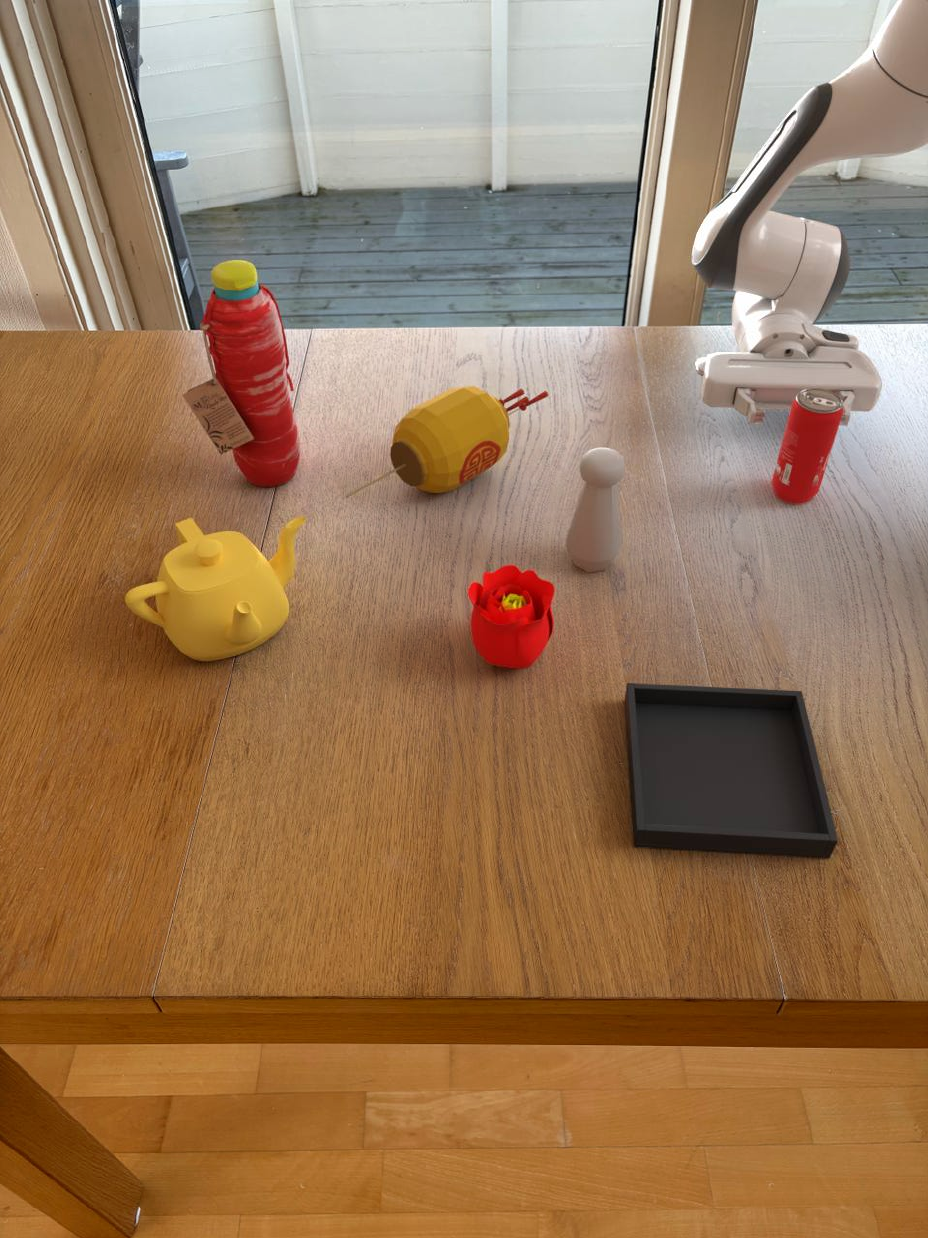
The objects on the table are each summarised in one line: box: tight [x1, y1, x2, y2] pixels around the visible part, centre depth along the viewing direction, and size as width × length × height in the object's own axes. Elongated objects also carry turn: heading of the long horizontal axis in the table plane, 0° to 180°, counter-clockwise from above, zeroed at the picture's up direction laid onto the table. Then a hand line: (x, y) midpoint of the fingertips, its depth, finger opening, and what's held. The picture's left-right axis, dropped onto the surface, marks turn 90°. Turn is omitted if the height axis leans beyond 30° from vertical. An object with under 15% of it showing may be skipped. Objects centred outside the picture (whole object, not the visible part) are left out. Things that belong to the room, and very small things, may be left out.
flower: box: [467, 564, 556, 670], centre depth 87 cm, size 8×8×8 cm
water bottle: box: [181, 259, 302, 488], centre depth 102 cm, size 12×8×25 cm, turn 132°
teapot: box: [124, 515, 307, 662], centre depth 90 cm, size 14×13×10 cm
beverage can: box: [771, 388, 843, 505], centre depth 103 cm, size 5×5×12 cm
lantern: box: [345, 385, 549, 499], centre depth 107 cm, size 10×10×30 cm
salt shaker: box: [565, 447, 626, 573], centre depth 95 cm, size 6×6×13 cm
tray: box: [623, 682, 839, 859], centre depth 79 cm, size 15×15×2 cm
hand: (799, 419), depth 107 cm, fingers open, 8 cm apart
